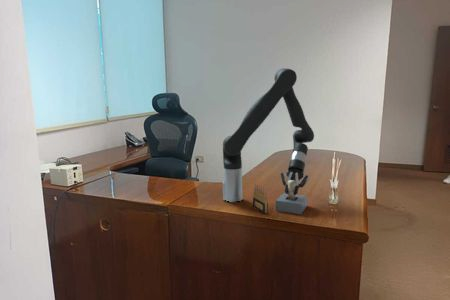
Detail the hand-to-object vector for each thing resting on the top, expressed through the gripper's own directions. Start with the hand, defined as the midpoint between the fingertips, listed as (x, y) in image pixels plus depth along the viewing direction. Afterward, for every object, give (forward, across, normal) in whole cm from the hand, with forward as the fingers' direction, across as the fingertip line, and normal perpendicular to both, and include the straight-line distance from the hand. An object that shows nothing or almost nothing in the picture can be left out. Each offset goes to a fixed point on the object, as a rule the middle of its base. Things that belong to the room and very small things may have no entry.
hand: (290, 193), depth 160 cm
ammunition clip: (+10, -13, +2) cm, 17 cm away
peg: (+2, 0, +5) cm, 5 cm away
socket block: (+4, 0, +7) cm, 8 cm away
